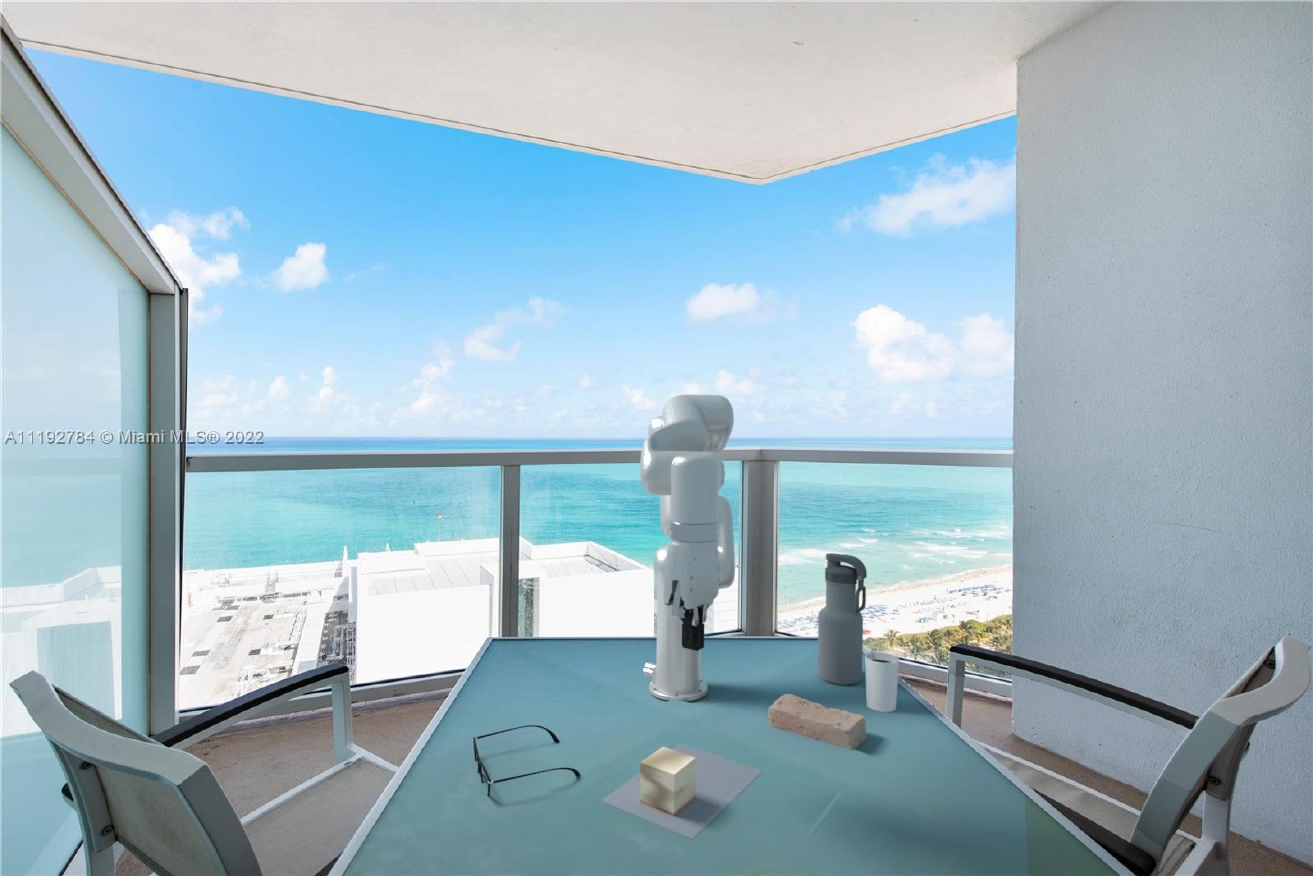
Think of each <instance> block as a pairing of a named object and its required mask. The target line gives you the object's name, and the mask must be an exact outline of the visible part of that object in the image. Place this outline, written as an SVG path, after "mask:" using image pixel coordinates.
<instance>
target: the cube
mask: <svg viewBox="0 0 1313 876" xmlns="http://www.w3.org/2000/svg"><path fill="white" fill-rule="evenodd" d="M672 749H673V748H672ZM672 749H671V748H669V747H665V746H661V747H659V749H657V750H656V751H654V752H653V753H652V754H650V755H649V756H647V757H646V758H644V759H642V760H641V761H640V763H639V765H640V766H639V767H640V769H639V773H640V803H643V804H645V805H647V806H650V807H652V808H655V809H657V810H660V811H662V812H665V813H667V814H670V815H672V816H674V815H676V814H677V813H678V812H679V811H680V810H681V809H682V808H684V807H685V806H686V805H687V804H688V803H689V802H690V801H692V800H693V799H694V798H695V781H696V758H695V757H692V756H689V755H686V754H683V753H680V752H677V751H674V750H672Z"/></svg>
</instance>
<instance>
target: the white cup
mask: <svg viewBox="0 0 1313 876" xmlns="http://www.w3.org/2000/svg"><path fill="white" fill-rule="evenodd" d="M864 655H865V656H864V657H865V658H864V661H865V662H864V663H865V664H864V665H865V667H864V668H865V670H864V671H865V693H866V696H865V698H866V706H867V708H869V709H871V710H873V711H876V712H882V713H890V712H891V713H892V712H895V711H896V710H897V700H898V699H897V696H898V682H899V681H898V680H899V664H900V658H899V657H898V656H896V655H894V654H892V653H888V652H883V651H882V652H881V651H873V652H871V651H870V652H868V653H866V654H864Z"/></svg>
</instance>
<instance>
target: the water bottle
mask: <svg viewBox="0 0 1313 876" xmlns="http://www.w3.org/2000/svg"><path fill="white" fill-rule="evenodd" d="M825 560H827V564H826V567H825V568H824V571H825V572H824V578H825V579H824V581H825V585H826V586H825V607H823V608H821V609H820V611H819V613H818V617H817V618H818V622H817V624H818V628H817V629H818V630H817V633H818V634H817V635H818V636H817V675H818V676H819V678H820V679H822V681H825V682H827V683H829V682H830V684H833V685H837V684H838V685H839V686H850V685H851V686H853V685H855V684H858V683H860V682H861V680H862V679H863V649H864V647H863V645H864V644H863V641H864V640H863V639H864V638H863V637H864V635H863V634H864V633H863V631H864V627H863V626H864V623H863V621H864V619H863V615H862V613H861V612H862V611H864V609H866V603H867V602H866V601H867V599H866V598H867V595H866V593H867V588H866V586H865V585H864V584H865V581H864V580H865V579H866V578H867V575H868V574H867V568H866V566H865V564H864V563H863V562H862V561H861V559H859V558H858V557H856V556H854V555H849V554H843V553H842V554H841V553H826V554H825ZM842 563H844V564H842ZM845 563H846V564H848V565H845ZM860 593H862V598H861V599H862V602H861V606H860Z"/></svg>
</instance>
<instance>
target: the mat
mask: <svg viewBox="0 0 1313 876" xmlns="http://www.w3.org/2000/svg"><path fill="white" fill-rule="evenodd" d="M672 750H674V751H677V752H680V753H683V754H686V755H689V756H692V757H695V758H696V781H695V798H694V799H693V800H692V801H690V802H689V803H688V804H687V805H686V806H685V807H684V808H682V809H681V810H680V811H679V812H678V813H677V814H676V815H674V816H672V815H670V814H667V813H665V812H662V811H660V810H657V809H655V808H652V807H650V806H647V805H645V804H643V803H640V772H638V773H637V774H636V775H634V776H633V777H632V778H630V779H629V780H627V781H626V782H624V783H623V784H622V785H620V786H619V787H617V788H616V789H615V790H614V791H612V792H611V793H609V794H608V795H606V796H605V797H604V798H602V799H601V800H600V801H601V802H603V803H606V804H607V805H610V806H612V807H614V808H616V809H619V810H621V811H624V812H627V813H629V814H632V815H633V816H636V817H638V818H640V819H643V820H644V821H647V822H650V823H652V824H655V825H656V826H659V827H661V828H664V829H666V830H668V831H671V832H673V833H676V834H678V835H681V836H682V837H685V838H688V839H689V840H694V839H695V838H696V837H697V835H699V834H700V833H701V832H702V831H703V830H704V829H705V828H706V827H707V826H708V825H709V824H710V823H711V822H712V821H713V820H714V819H715V818H716V817H717V816H719V814H721V812H723V810H725V808H727V806H728V805H730V804H731V803H732V802H733V801H734V800H735V799H736V798H737V797H738V796H739V795H740V794H741V793H742V792H743V791H744V790H745V789H746V788H747V787H748V786H750V784H751V783H753V781H755V779H757V778H758V776H760V775H761V774H762V773H763V772H764V771H763V770H760V769H758V768H755V767H752V766H748V765H745V764H742V763H739V762H736V761H735V760H730V759H728V758H724V757H722V756H718V755H715V754H713V753H710V752H707V751H705V750H704V751H703V750H700V749H698V748H694V747H692V746H688V745H685V744H683V743H679V744H678V745H677V746H674V748H672Z"/></svg>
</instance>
